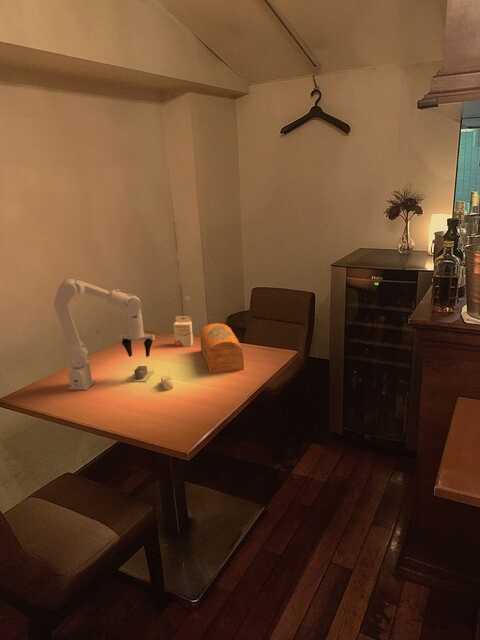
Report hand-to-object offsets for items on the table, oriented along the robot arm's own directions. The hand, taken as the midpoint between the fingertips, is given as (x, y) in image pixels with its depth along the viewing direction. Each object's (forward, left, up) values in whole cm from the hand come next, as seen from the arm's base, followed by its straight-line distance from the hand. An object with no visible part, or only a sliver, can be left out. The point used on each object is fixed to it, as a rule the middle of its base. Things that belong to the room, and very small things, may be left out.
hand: (139, 356), depth 198 cm
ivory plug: (-9, -14, -9) cm, 19 cm away
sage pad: (0, 0, -9) cm, 9 cm away
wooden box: (+21, -31, -10) cm, 39 cm away
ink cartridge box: (+41, -8, -10) cm, 43 cm away
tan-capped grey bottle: (0, 0, -9) cm, 9 cm away
